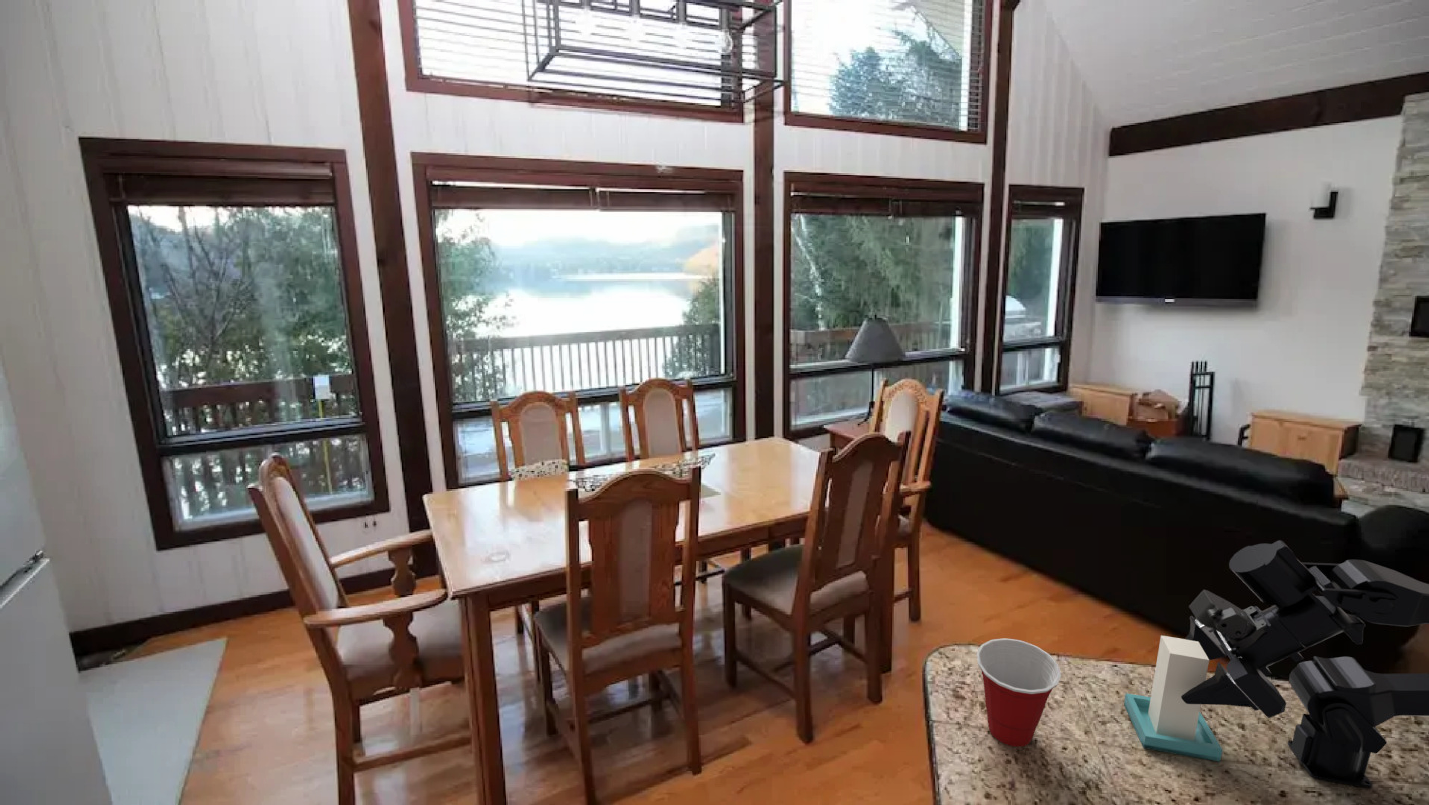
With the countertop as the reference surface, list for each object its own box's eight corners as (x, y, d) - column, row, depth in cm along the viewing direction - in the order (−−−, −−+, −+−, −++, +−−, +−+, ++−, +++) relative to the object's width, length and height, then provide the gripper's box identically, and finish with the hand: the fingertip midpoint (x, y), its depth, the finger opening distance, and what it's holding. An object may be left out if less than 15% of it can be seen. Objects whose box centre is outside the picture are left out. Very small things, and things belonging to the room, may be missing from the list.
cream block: (1184, 720, 95) (1198, 641, 92) (1193, 742, 91) (1209, 660, 88) (1148, 713, 96) (1161, 635, 93) (1156, 734, 92) (1170, 653, 89)
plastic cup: (964, 745, 92) (971, 672, 89) (974, 698, 101) (980, 630, 98) (1051, 773, 87) (1061, 696, 84) (1052, 721, 96) (1062, 650, 93)
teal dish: (1193, 715, 97) (1195, 704, 96) (1219, 761, 88) (1222, 749, 88) (1123, 704, 99) (1125, 693, 99) (1143, 748, 91) (1145, 736, 90)
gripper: (1217, 550, 94) (1119, 604, 101) (1272, 619, 77) (1150, 679, 84) (1273, 608, 94) (1171, 659, 100) (1341, 691, 77) (1213, 746, 83)
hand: (1174, 682), depth 92 cm, fingers open, 8 cm apart
